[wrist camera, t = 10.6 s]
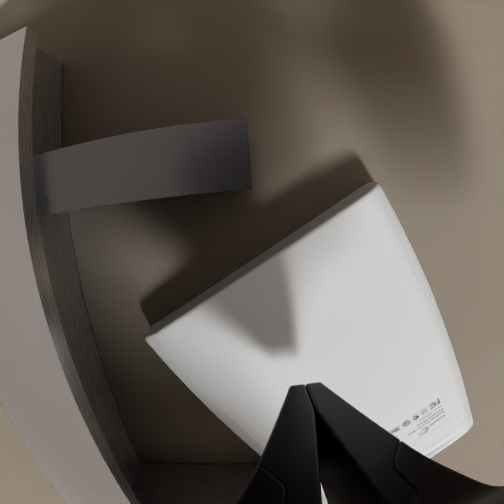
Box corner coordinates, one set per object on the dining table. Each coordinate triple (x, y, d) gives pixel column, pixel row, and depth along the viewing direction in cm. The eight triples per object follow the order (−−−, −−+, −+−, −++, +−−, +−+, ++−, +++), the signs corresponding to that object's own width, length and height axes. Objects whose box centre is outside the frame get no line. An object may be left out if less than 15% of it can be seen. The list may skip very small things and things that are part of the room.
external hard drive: (362, 181, 10) (461, 408, 12) (154, 319, 11) (323, 490, 13) (383, 182, 8) (477, 427, 10) (140, 342, 9) (328, 513, 11)
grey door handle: (274, 513, 13) (279, 559, 10) (118, 506, 13) (105, 546, 10) (236, 26, 8) (234, -29, 5) (0, 88, 8) (-55, 75, 5)
